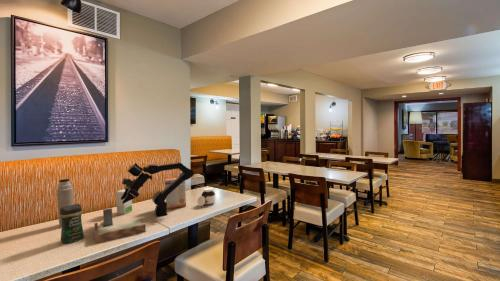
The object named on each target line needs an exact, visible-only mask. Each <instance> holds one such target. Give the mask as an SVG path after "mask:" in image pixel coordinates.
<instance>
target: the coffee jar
mask: <svg viewBox="0 0 500 281" xmlns="http://www.w3.org/2000/svg"><path fill="white" fill-rule="evenodd" d="M82 214H83V207H82V205H81V204H80V203H74V205H70V206H65V207H61V208H60V217H61V219H62V227H61V231H60V242H61V243H63V244H70V243H74V242H76V241H79V240H82V239H83V238H84V237H85V235H84V229H83V228H84V227H83V222H82Z"/></svg>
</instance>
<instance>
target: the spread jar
mask: <svg viewBox="0 0 500 281" xmlns="http://www.w3.org/2000/svg"><path fill="white" fill-rule="evenodd" d="M196 203H197V205H198V206H199V207H203V206H212V205H214V204H215V203H216V193H215V191H214V190H213V187H205V188H203V192H202V193H201V196H199V197H198V198H197V202H196Z"/></svg>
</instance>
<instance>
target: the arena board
mask: <svg viewBox="0 0 500 281" xmlns="http://www.w3.org/2000/svg"><path fill="white" fill-rule="evenodd" d="M138 225H142V221H141V220H140V219H138V220H133V221H128V222H124V223H119V224H118V223H117V224H115V225H111V226H106V227H104V226H103V227H100V228H99V227H98V234H101V233H105V232H110V231H115V230H119V229H124V228H129V227H133V226H138ZM146 232H147V231H143V233H146ZM140 234H142V232H141V233H140ZM134 235H138V234H137V233H136V234H135V233H134ZM96 244H99V243H98V242H97V243H96Z"/></svg>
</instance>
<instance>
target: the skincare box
mask: <svg viewBox="0 0 500 281" xmlns="http://www.w3.org/2000/svg"><path fill="white" fill-rule="evenodd" d="M124 192H125V188H123V189H120V190H117V191H115V197H116V198H115V200H116V201H115V202H116V214H117V215H127V214H129V213H130V212H131V213H132V212H133V199H132V200H130V201H128V202H126V203H124V204H123V203H122V202H123V200H124V199H125V198H124V199H123V200H121V197H122V195H123V194H124Z"/></svg>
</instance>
